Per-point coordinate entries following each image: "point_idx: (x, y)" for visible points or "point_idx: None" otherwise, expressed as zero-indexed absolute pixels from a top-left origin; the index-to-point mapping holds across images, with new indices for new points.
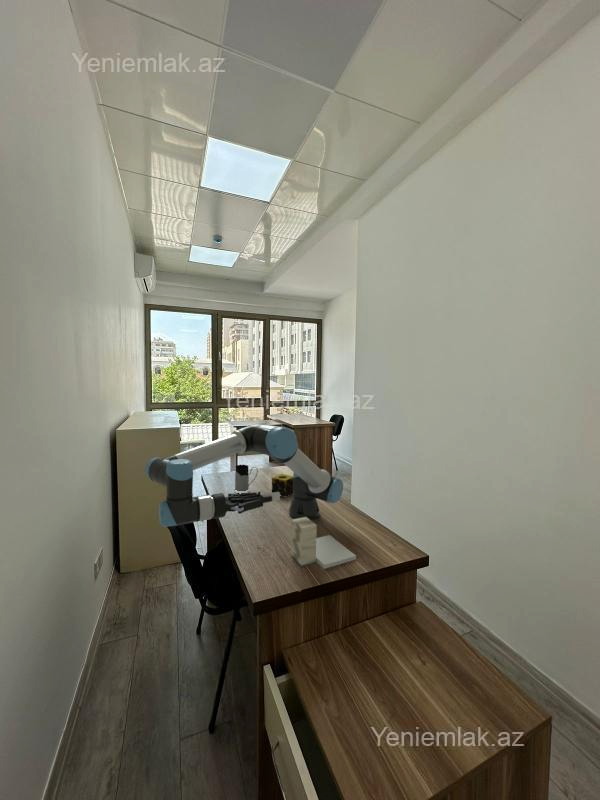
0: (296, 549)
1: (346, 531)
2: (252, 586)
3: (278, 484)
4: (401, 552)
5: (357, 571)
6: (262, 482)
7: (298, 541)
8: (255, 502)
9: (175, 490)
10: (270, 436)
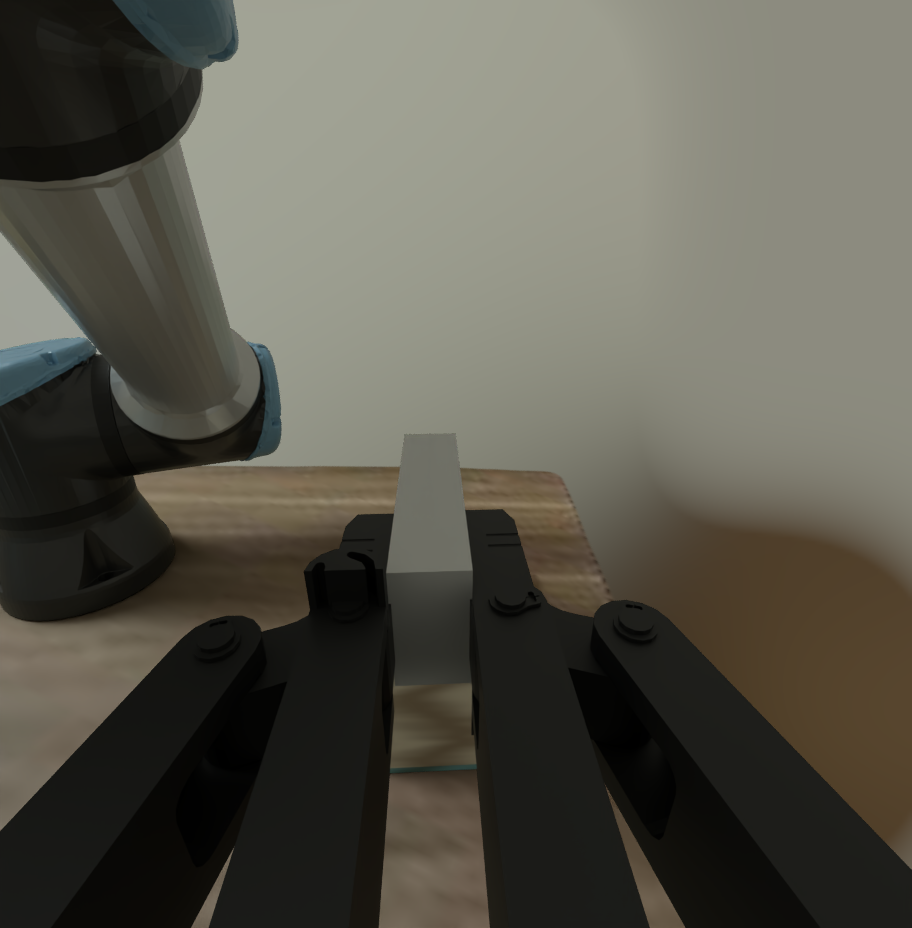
0: (437, 726)
1: (343, 525)
2: None
3: None
4: (525, 486)
5: (594, 598)
6: None
7: (460, 683)
8: (833, 825)
9: None
10: None
